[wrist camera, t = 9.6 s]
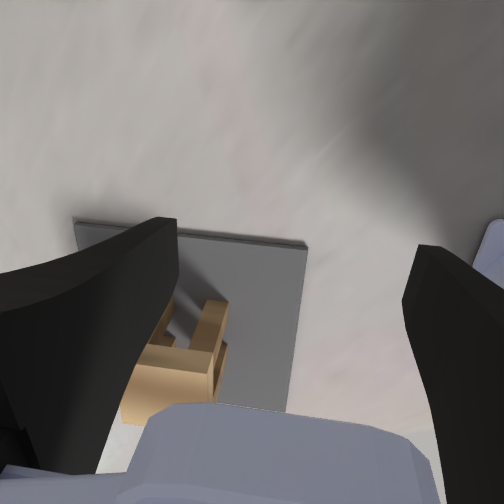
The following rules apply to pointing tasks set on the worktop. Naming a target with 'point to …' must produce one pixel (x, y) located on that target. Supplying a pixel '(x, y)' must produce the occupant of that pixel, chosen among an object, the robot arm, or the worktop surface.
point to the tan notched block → (178, 366)
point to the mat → (236, 308)
